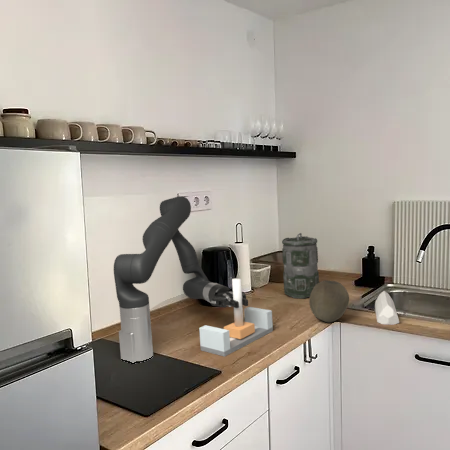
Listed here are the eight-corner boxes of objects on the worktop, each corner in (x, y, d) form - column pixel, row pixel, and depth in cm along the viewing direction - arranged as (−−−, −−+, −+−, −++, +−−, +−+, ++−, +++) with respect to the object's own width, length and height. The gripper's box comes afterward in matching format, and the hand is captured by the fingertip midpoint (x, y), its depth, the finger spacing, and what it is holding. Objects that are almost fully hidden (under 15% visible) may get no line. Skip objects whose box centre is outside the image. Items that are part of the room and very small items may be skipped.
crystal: (369, 297, 187) (371, 314, 164) (385, 288, 185) (390, 305, 162) (379, 312, 187) (383, 332, 164) (395, 304, 185) (401, 323, 162)
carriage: (240, 339, 152) (237, 282, 150) (224, 335, 157) (220, 280, 155) (254, 332, 158) (251, 277, 156) (238, 328, 163) (235, 275, 161)
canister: (317, 299, 201) (314, 235, 198) (281, 298, 206) (278, 236, 203) (321, 290, 216) (319, 231, 213) (287, 289, 221) (285, 231, 218)
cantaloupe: (342, 329, 162) (340, 287, 160) (304, 324, 170) (302, 284, 168) (354, 317, 174) (353, 278, 172) (318, 313, 181) (317, 275, 180)
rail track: (224, 356, 143) (223, 333, 143) (200, 350, 150) (199, 327, 149) (272, 331, 164) (271, 310, 163) (250, 326, 170) (249, 306, 170)
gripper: (199, 287, 165) (223, 296, 150) (232, 281, 172) (259, 289, 157) (200, 308, 165) (225, 319, 151) (233, 300, 172) (260, 310, 158)
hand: (242, 304), depth 154 cm, fingers closed on carriage, 3 cm apart
